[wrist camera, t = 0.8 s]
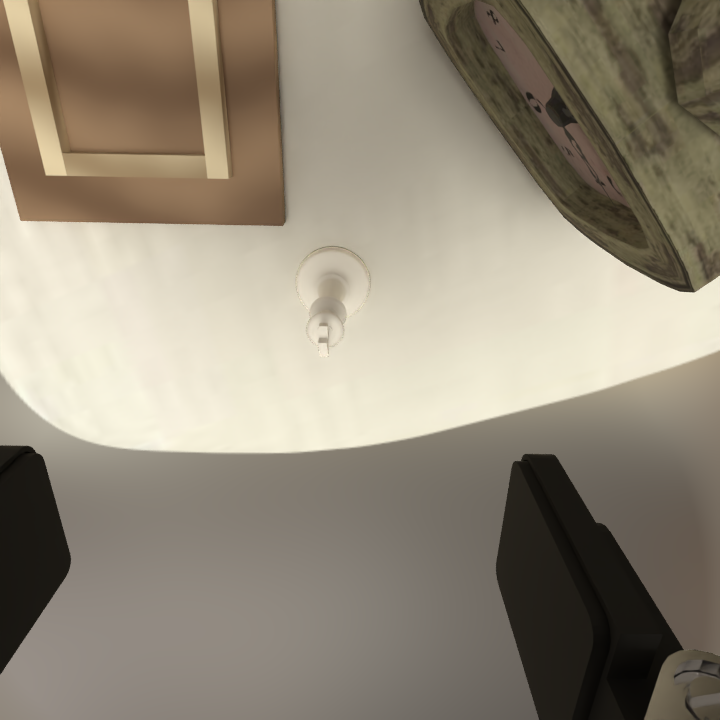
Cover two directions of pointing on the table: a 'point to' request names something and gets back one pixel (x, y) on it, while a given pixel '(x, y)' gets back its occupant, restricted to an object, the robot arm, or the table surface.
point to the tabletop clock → (606, 116)
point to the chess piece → (331, 293)
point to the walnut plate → (142, 111)
